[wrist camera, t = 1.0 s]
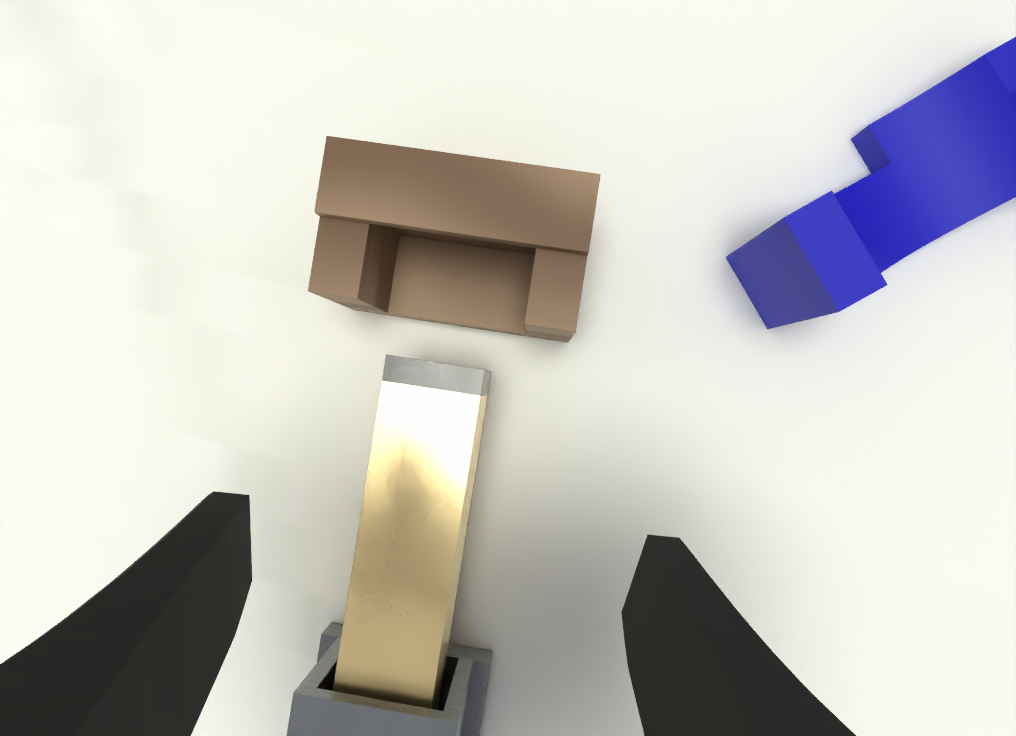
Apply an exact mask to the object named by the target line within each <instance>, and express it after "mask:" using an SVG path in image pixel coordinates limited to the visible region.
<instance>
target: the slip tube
mask: <svg viewBox="0 0 1016 736" xmlns="http://www.w3.org/2000/svg"><path fill="white" fill-rule="evenodd" d="M490 377H491V371H487V370H482V369H476V368H469V367H463V366H456V365H450V364H444V363H437V362H431V361H424V360H418V359H411V358H405V357H399V356H392V355H386V359H385V366H384V372H383V378H382V385H381V391H380V397H379V403H378V410H377V416H376V422H375V429H374V435H373V441H372V447H371V454H370V460H369V466H368V472H367V479H366V485H365V491H364V498H363V504H362V510H361V516H360V523H359V529H358V535H357V542H356V548H355V554H354V560H353V567H352V573H351V579H350V586H349V592H348V598H347V604H346V611H345V617H344V623H343V629H342V636H341V642H340V648H339V655H338V661H337V667H336V673H335V680H334V686H333V691H335V692H341V693H346V694H352V695H357V696H363V697H368V698H374V699H379V700H385V701H390V702H396V703H401V704H407V705H412V706H418V707H423V708H429V709H434V710H438V709H439V702H440V696H441V690H442V683H443V677H444V670H445V664H446V658H447V651H448V645H449V639H450V632H451V626H452V619H453V613H454V607H455V600H456V594H457V587H458V581H459V575H460V568H461V562H462V555H463V549H464V543H465V536H466V530H467V524H468V517H469V511H470V504H471V498H472V492H473V485H474V479H475V472H476V466H477V460H478V453H479V447H480V440H481V434H482V428H483V421H484V415H485V409H486V402H487V396H488V389H489V383H490Z"/></svg>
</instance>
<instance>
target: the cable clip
mask: <svg viewBox="0 0 1016 736" xmlns="http://www.w3.org/2000/svg"><path fill="white" fill-rule="evenodd" d="M851 140H852V142H853V144H854V145H855V147H856V149H857V150H858V152H859V154H860V155H861V157H862V159H863V160H864V162H865V164H866V165H867V167H868V169H869V170H870V172H871V174H870V175H869V176H867V177H865V178H863V179H861V180H859V181H858V182H856V183H854V184H852V185H850V186H848V187H847V188H845V189H843V190H841V191H839V192H837V193H835V194H833V192H832V191H830V192H829V193H827V194H825V195H823V196H822V197H820V198H818V199H816V200H814V201H813V202H811V203H809V204H807V205H806V206H804V207H802V208H800V209H798V210H797V211H795V212H793V213H791V214H790V215H788V216H786V217H784V218H783V219H781V220H780V221H778V222H777V223H775V224H774V225H772V226H771V227H769V228H768V229H767V230H765V231H764V232H762V233H761V234H759V235H758V236H756V237H755V238H753V239H752V240H750V241H749V242H747V243H746V244H745V245H743V246H742V247H740V248H739V249H737V250H736V251H734V252H733V253H731V254H730V255H728V256H727V257H726V259H727V260H728V262H729V264H730V265H731V267H732V269H733V271H734V272H735V274H736V276H737V277H738V279H739V281H740V283H741V284H742V286H743V288H744V289H745V291H746V293H747V295H748V296H749V298H750V300H751V301H752V303H753V305H754V307H755V308H756V310H757V312H758V313H759V315H760V317H761V319H762V320H763V322H764V324H765V325H766V327H767V329H770V328H774V327H778V326H782V325H786V324H791V323H795V322H799V321H803V320H807V319H811V318H815V317H819V316H824V315H828V314H832V313H836V312H840V311H841V310H843V309H845V308H847V307H849V306H850V305H852V304H854V303H856V302H858V301H859V300H861V299H863V298H865V297H866V296H868V295H870V294H872V293H874V292H875V291H877V290H879V289H881V288H883V287H884V286H886V285H887V283H886V281H885V280H884V278H883V276H882V275H881V272H883V271H884V270H886V269H887V268H889V267H890V266H892V265H893V264H895V263H896V262H898V261H899V260H901V259H903V258H904V257H906V256H908V255H909V254H911V253H913V252H914V251H916V250H918V249H919V248H921V247H923V246H925V245H926V244H928V243H930V242H932V241H934V240H935V239H937V238H939V237H941V236H942V235H944V234H946V233H948V232H950V231H952V230H953V229H955V228H957V227H959V226H961V225H963V224H965V223H966V222H968V221H970V220H972V219H974V218H976V217H978V216H980V215H982V214H984V213H985V212H987V211H989V210H991V209H993V208H995V207H997V206H999V205H1001V204H1003V203H1005V202H1007V201H1009V200H1011V199H1013V198H1015V197H1016V37H1015V38H1013V39H1011V40H1009V41H1008V42H1006V43H1004V44H1002V45H1001V46H999V47H997V48H995V49H994V50H992V51H990V52H988V53H986V54H985V55H983V56H982V57H980V58H978V59H977V60H975V61H974V62H972V63H971V64H969V65H967V66H966V67H964V68H963V69H961V70H960V71H958V72H956V73H955V74H953V75H952V76H950V77H948V78H947V79H945V80H944V81H942V82H940V83H939V84H937V85H936V86H934V87H932V88H931V89H929V90H927V91H926V92H924V93H922V94H921V95H919V96H918V97H916V98H914V99H913V100H911V101H909V102H908V103H906V104H904V105H903V106H901V107H899V108H898V109H896V110H894V111H892V112H891V113H889V114H887V115H886V116H884V117H882V118H880V119H879V120H877V121H875V122H873V123H872V124H870V125H868V126H867V127H866V128H864V129H863V130H862V131H861V132H859V133H858V134H857V135H856V136H854V137H853V138H852V139H851Z"/></svg>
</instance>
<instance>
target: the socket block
mask: <svg viewBox="0 0 1016 736" xmlns="http://www.w3.org/2000/svg"><path fill="white" fill-rule="evenodd" d="M599 181H600V174H595V173H588V172H581V171H574V170H567V169H560V168H552V167H545V166H538V165H531V164H524V163H517V162H510V161H502V160H495V159H488V158H481V157H474V156H467V155H460V154H452V153H445V152H438V151H431V150H424V149H417V148H410V147H402V146H395V145H388V144H381V143H374V142H367V141H359V140H352V139H345V138H338V137H331V136H327V137H326V144H325V150H324V156H323V162H322V168H321V175H320V181H319V187H318V193H317V199H316V206H315V213H316V214H317V215H319V216H320V220H319V226H318V232H317V238H316V245H315V251H314V257H313V263H312V269H311V276H310V282H309V288H308V291H309V292H311V293H314V294H316V295H319V296H321V297H324V298H326V299H329V300H331V301H334V302H336V303H339V304H341V305H344V306H346V307H349V308H351V309H354V310H359V311H366V312H372V313H379V314H385V315H392V316H399V317H405V318H412V319H418V320H425V321H431V322H438V323H444V324H451V325H457V326H464V327H471V328H477V329H484V330H490V331H497V332H503V333H510V334H516V335H523V336H530V337H536V338H543V339H549V340H556V341H562V342H569V340H570V339H571V337H572V336H573V334H574V333H575V331H576V325H577V318H578V312H579V305H580V299H581V292H582V286H583V280H584V273H585V267H586V260H587V255H588V252H589V245H590V239H591V233H592V226H593V220H594V213H595V207H596V200H597V194H598V187H599Z"/></svg>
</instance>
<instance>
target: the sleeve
mask: <svg viewBox="0 0 1016 736" xmlns="http://www.w3.org/2000/svg"><path fill="white" fill-rule="evenodd" d="M342 629H343V625H342V624H336V623H331V624H330V625H329V626H328V627H327V628H326V629H325V630H324V632H323V633H322V634H321V641H320V647H319V653H318V660H317V664H316V665H315V667H314V668H313V669H312V670H311V672H310V673H309V674H308V675H307V677H306V678H305V679H304V680H303V682H302V683H301V684H300V685H299V687H298V688H297V689H296V690H295V692H294V694H293V700H292V706H291V712H290V718H289V725H288V731H287V736H479V734H480V727H481V721H482V714H483V708H484V701H485V695H486V689H487V682H488V676H489V669H490V663H491V656H492V651H489V650H483V649H478V648H472V647H466V646H461V645H455V644H449V645H448V651H447V658H446V664H445V670H444V677H443V683H442V690H441V696H440V702H439V709H438V710H434V709H429V708H423V707H418V706H412V705H407V704H401V703H396V702H390V701H385V700H379V699H374V698H368V697H363V696H357V695H352V694H346V693H341V692H335V691H333V686H334V680H335V673H336V667H337V661H338V655H339V648H340V642H341V636H342Z"/></svg>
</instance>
